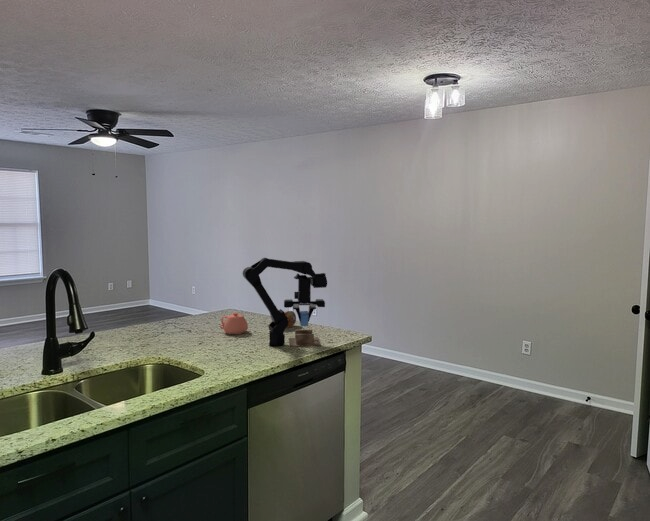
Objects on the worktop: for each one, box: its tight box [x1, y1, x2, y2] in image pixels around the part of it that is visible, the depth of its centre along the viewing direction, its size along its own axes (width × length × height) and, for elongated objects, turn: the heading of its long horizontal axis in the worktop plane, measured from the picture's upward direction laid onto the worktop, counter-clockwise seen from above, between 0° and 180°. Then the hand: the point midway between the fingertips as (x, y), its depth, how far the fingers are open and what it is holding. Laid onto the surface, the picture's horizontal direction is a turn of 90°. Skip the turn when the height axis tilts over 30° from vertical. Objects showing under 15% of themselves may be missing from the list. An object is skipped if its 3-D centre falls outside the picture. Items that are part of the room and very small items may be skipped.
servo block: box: [299, 310, 309, 327], centre depth 215 cm, size 3×9×6 cm, turn 7°
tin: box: [284, 310, 297, 329], centre depth 245 cm, size 15×3×8 cm, turn 143°
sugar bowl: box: [219, 312, 249, 335], centre depth 233 cm, size 12×14×10 cm
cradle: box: [288, 328, 322, 348], centre depth 215 cm, size 14×14×5 cm
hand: (304, 321), depth 215 cm, fingers closed on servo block, 3 cm apart
